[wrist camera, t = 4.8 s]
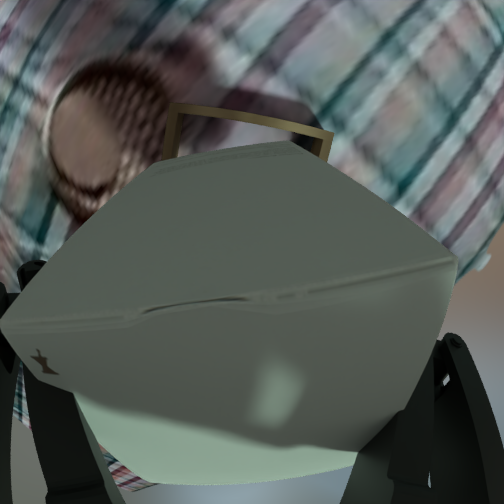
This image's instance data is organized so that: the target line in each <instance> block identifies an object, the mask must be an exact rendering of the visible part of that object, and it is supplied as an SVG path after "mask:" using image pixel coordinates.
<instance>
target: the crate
mask: <svg viewBox="0 0 504 504" xmlns="http://www.w3.org/2000/svg"><path fill="white" fill-rule="evenodd" d="M184 113H186V114H195V115H202V116H210V117H217V118H224V119H230V120H236V121H242V122H248V123H253V124H258V125H263V126H268V127H273V128H278V129H283V130H287V131H291V132H296V133H300V134H304V135H308V136H312V137H314V139H313V143H312V147H311V152H310V153H312V154H313V155H315V156H317V157H318V158H320V159H322V160H323V161H325V162H327V160H328V156H329V153H330V149H331V145H332V141H333V137H334V133H333V132H329V131H326V130H322V129H318V128H315V127H311V126H307V125H303V124H299V123H295V122H290V121H286V120H282V119H277V118H272V117H267V116H262V115H257V114H252V113H247V112H241V111H235V110H229V109H222V108H215V107H208V106H200V105H192V104H183V103H173V102H170V105H169V111H168V117H167V124H166V130H165V137H164V145H163V152H162V161H163V160H168V159H173V158H177V156H178V149H179V142H180V135H181V129H182V123H183V117H184Z"/></svg>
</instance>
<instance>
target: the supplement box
mask: <svg viewBox="0 0 504 504" xmlns="http://www.w3.org/2000/svg"><path fill="white" fill-rule="evenodd" d="M457 265H458V257H457V256H456V255H455V254H453V253H452V252H451V251H449V250H448V249H447V248H445V247H444V246H443V245H442V244H440V243H439V242H438V241H437V240H436V239H434V238H433V237H432V236H430V235H429V234H428V233H427V232H425V231H424V230H423V229H422V228H420V227H419V226H418V225H416V224H415V223H414V222H413V221H411V220H410V219H409V218H407V217H406V216H405V215H403V214H402V213H401V212H399V211H398V210H397V209H395V208H394V207H392V206H391V205H390V204H388V203H387V202H385V201H384V200H383V199H381V198H380V197H378V196H377V195H375V194H374V193H373V192H371V191H370V190H368V189H367V188H365V187H364V186H362V185H361V184H359V183H358V182H356V181H355V180H353V179H352V178H350V177H349V176H347V175H346V174H344V173H342V172H341V171H339V170H338V169H336V168H335V167H333V166H331V165H330V164H328V163H327V162H325V161H323V160H322V159H320V158H318V157H317V156H315V155H313V154H312V153H310V152H308V151H307V150H305V149H303V148H302V147H300V146H298V145H296V144H295V143H293V142H291V141H278V142H269V143H261V144H253V145H246V146H239V147H232V148H226V149H220V150H214V151H208V152H203V153H198V154H192V155H187V156H182V157H177V158H173V159H168V160H163V161H159V162H156V163H153V164H152V165H151V166H149V167H148V168H147V169H146V170H144V171H143V172H142V173H141V174H139V175H138V176H137V177H136V178H135V179H133V180H132V181H131V182H130V183H129V184H127V185H126V186H125V187H124V188H123V189H121V190H120V191H119V192H118V193H117V194H116V195H114V196H113V197H112V198H111V199H110V200H109V201H108V202H107V203H106V204H105V205H103V206H102V207H101V208H100V209H99V210H98V211H97V212H96V213H95V214H94V215H93V216H92V217H90V218H89V219H88V220H87V221H86V222H85V223H84V224H83V225H82V226H81V227H80V228H79V229H78V230H77V231H76V232H75V233H74V234H73V235H72V236H71V237H70V238H69V239H68V240H67V241H66V242H65V243H64V244H63V245H62V246H61V248H60V249H59V250H58V251H57V252H56V253H55V254H54V255H53V256H52V257H51V258H50V259H49V260H48V261H47V263H46V264H45V265H44V266H43V267H42V268H41V269H40V271H39V272H38V273H37V274H36V275H35V276H34V278H33V279H32V280H31V281H30V282H29V283H28V285H27V286H26V287H25V288H24V289H23V291H22V292H21V293H20V294H19V296H18V297H17V298H16V300H15V301H14V302H13V303H12V305H11V306H10V307H9V308H8V310H7V311H6V312H5V314H4V315H3V316H2V318H1V319H0V329H1V331H2V333H3V335H4V336H5V338H6V339H7V341H8V342H9V344H10V345H11V346H12V348H13V349H14V351H15V352H16V353H17V355H18V356H19V357H20V359H21V360H22V361H23V362H24V364H25V365H26V366H27V367H28V369H29V370H30V371H31V372H32V373H33V375H34V376H35V377H36V378H37V379H38V380H40V381H42V382H45V383H47V384H50V385H53V386H55V387H58V388H61V389H63V390H66V391H69V392H72V393H73V394H74V396H75V398H76V400H77V402H78V404H79V406H80V408H81V410H82V412H83V414H84V416H85V418H86V420H87V422H88V424H89V426H90V428H91V430H92V432H93V433H94V435H95V437H96V440H97V442H98V443H100V444H101V445H102V446H103V447H104V448H105V449H106V450H107V451H108V452H109V453H110V454H112V455H113V456H114V457H115V458H116V459H117V460H118V461H120V462H121V463H122V464H123V465H124V466H125V467H127V468H128V469H129V470H130V471H132V472H133V473H135V474H136V475H138V476H139V477H141V478H142V479H144V480H146V481H148V482H151V483H163V484H182V485H183V484H184V485H226V484H244V483H256V482H265V481H274V480H281V479H289V478H295V477H301V476H307V475H312V474H317V473H322V472H327V471H331V470H336V469H339V468H343V467H348V466H352V465H354V463H355V460H356V456H357V453H358V452H359V451H360V450H361V449H362V448H363V447H364V446H365V445H366V444H367V443H368V442H369V441H370V440H371V439H372V438H373V437H374V436H375V435H376V434H377V433H378V432H379V431H380V430H381V429H382V428H383V427H384V426H385V425H386V424H387V423H388V422H389V421H390V420H391V419H392V418H393V417H394V416H395V414H396V413H397V412H398V411H400V410H404V409H405V407H406V405H407V403H408V401H409V399H410V397H411V395H412V393H413V391H414V389H415V387H416V385H417V383H418V381H419V379H420V377H421V375H422V373H423V370H424V368H425V366H426V364H427V362H428V360H429V357H430V355H431V353H432V350H433V348H434V345H435V343H436V340H437V337H438V335H439V332H440V329H441V327H442V324H443V321H444V318H445V315H446V311H447V308H448V305H449V302H450V298H451V294H452V290H453V286H454V282H455V278H456V273H457Z"/></svg>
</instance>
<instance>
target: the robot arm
mask: <svg viewBox="0 0 504 504" xmlns="http://www.w3.org/2000/svg"><path fill="white" fill-rule="evenodd" d="M46 263H47V262H46V261H43V260H33V261H29V262H27V263H25V264H23V265H22V266H21V267H20V268H19V269H18V271H17V276H18V280H19V284H20V288H21V292H22V291H23V289H24V288H25V287H26V286H27V285H28V283H29V282H30V281H31V280H32V279H33V278H34V276H35V275H36V274H37V273H38V272H39V271H40V269H41V268H42V267H43V266H44V265H45V264H46ZM19 294H20V293H7V291H6V288H5V285H4V284H3V283H1V282H0V319H1V318H2V316H3V315H4V314H5V312H6V311H7V310H8V308H9V307H10V306H11V305H12V303H13V302H14V301H15V300H16V298H17V297H18V296H19ZM20 360H21V359H20V357H19V356H18V355H17V353H16V352H15V351H14V349H13V348H12V346H11V345H10V344H9V342H8V341H7V339H6V338H5V336H4V335H3V333H2V331H1V329H0V504H13V502H12V490H11V469H10V451H11V449H10V447H11V427H12V415H13V405H14V397H15V390H16V383H17V377H18V371H19V365H20ZM22 363H23V375H24V384H25V393H26V400H27V406H28V413H29V418H30V423H31V428H32V433H33V438H34V442H35V446H36V450H37V454H38V458H39V461H40V465H41V468H42V472H43V475H44V478H45V481H46V485H47V488H48V493H47V495H46V497H45V499H46V504H126V503H125V501H124V499H123V497H122V495H121V494H120V492H119V490H118V488H117V486H116V484H115V481H114V479H113V477H112V475H111V473H110V471H109V469H108V466H107V464H106V462H105V459H104V457H103V455H102V452H101V450H100V447H99V445H98V442H97V440H96V437H95V435H94V433H93V432H92V430H91V428H90V426H89V424H88V422H87V420H86V418H85V416H84V414H83V412H82V410H81V408H80V406H79V404H78V402H77V400H76V398H75V396H74V394H73V393H72V392H69V391H66V390H63V389H61V388H58V387H55V386H53V385H50V384H47V383H45V382H42V381H40V380H38V379H37V378H36V377H35V376H34V375H33V373H32V372H31V371H30V370H29V369H28V367H27V366H26V365H25V364H24V362H23V361H22ZM448 374H449V377H450V380H449V382H448V383H447V384H446V385H445V386H444V384H443V381H444V379H445V378H446V377H447V376H448ZM429 471H430V482H431V488H430V487H429V486H428V478H429ZM340 504H504V448H503V444H502V441H501V437H500V433H499V430H498V427H497V424H496V420H495V417H494V414H493V411H492V408H491V405H490V402H489V399H488V396H487V394H486V391H485V389H484V386H483V383H482V381H481V378H480V375H479V373H478V370H477V368H476V366H475V364H474V361H473V359H472V356H471V354H470V352H469V350H468V348H467V345H466V343H465V342H464V340H462V338H461V337H460V336H458V335H457V334H453V333H446V334H445V336H444V337H443V339H442V340H441V341H440V340H436V343H435V345H434V348H433V350H432V353H431V355H430V357H429V360H428V362H427V364H426V366H425V368H424V370H423V373H422V375H421V377H420V379H419V381H418V383H417V385H416V387H415V389H414V391H413V393H412V395H411V397H410V399H409V401H408V403H407V405H406V407H405V409H404V410H400V411H398V412H397V413H396V414H395V416H394V417H393V418H392V419H391V420H390V421H389V422H388V423H387V424H386V425H385V426H384V427H383V428H382V429H381V430H380V431H379V432H378V433H377V434H376V435H375V436H374V437H373V438H372V439H371V440H370V441H369V442H368V443H367V444H366V445H365V446H364V447H363V448H362V449H361V450H360V451H359V452H358V453H357V456H356V460H355V463H354V466H353V469H352V472H351V475H350V478H349V481H348V483H347V486H346V489H345V491H344V494H343V497H342V499H341V502H340Z"/></svg>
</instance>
